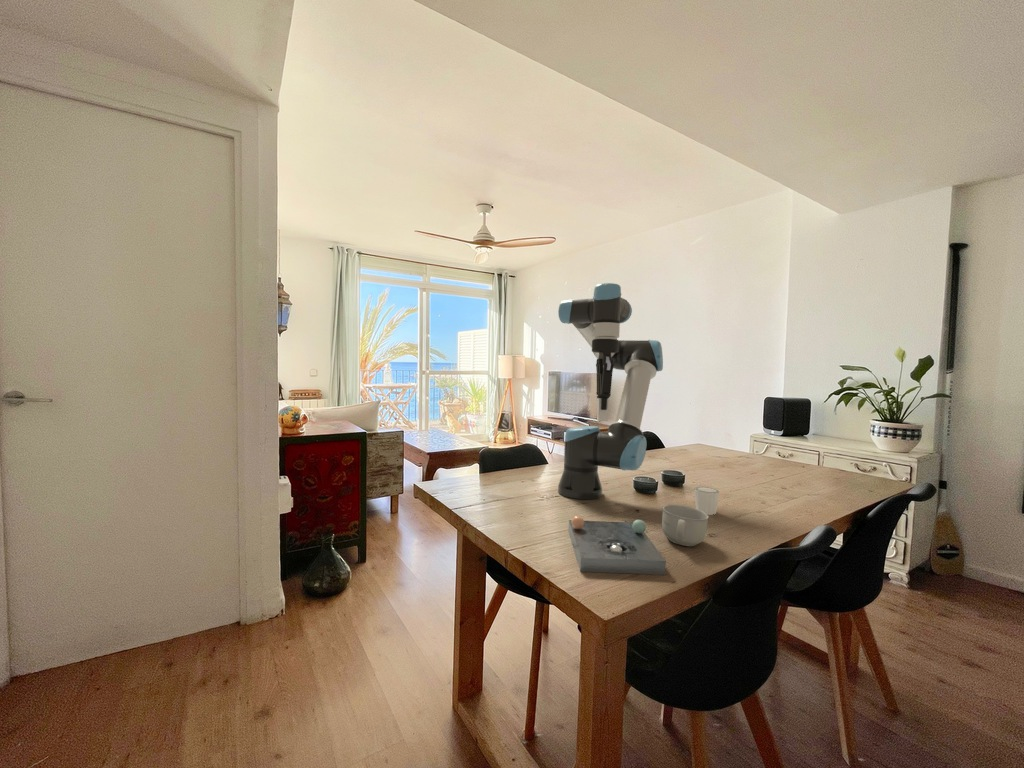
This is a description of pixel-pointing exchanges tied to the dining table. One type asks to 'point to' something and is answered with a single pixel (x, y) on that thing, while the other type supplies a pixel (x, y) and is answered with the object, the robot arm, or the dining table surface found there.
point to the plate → (599, 558)
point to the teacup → (684, 524)
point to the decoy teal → (639, 526)
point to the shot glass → (706, 499)
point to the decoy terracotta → (577, 522)
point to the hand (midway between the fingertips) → (602, 420)
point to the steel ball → (616, 548)
